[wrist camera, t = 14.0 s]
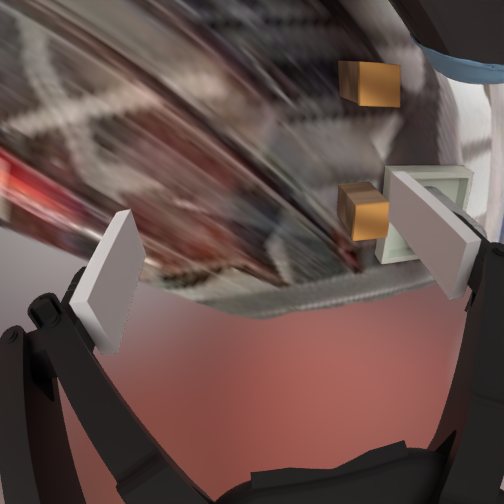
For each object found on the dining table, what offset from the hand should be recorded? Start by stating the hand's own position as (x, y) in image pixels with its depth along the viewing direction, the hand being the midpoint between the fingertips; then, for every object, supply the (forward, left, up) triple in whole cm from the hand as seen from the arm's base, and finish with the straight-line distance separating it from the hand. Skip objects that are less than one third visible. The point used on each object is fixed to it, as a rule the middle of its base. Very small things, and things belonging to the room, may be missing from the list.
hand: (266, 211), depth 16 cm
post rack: (+5, +16, -28) cm, 33 cm away
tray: (+17, +29, -28) cm, 44 cm away
